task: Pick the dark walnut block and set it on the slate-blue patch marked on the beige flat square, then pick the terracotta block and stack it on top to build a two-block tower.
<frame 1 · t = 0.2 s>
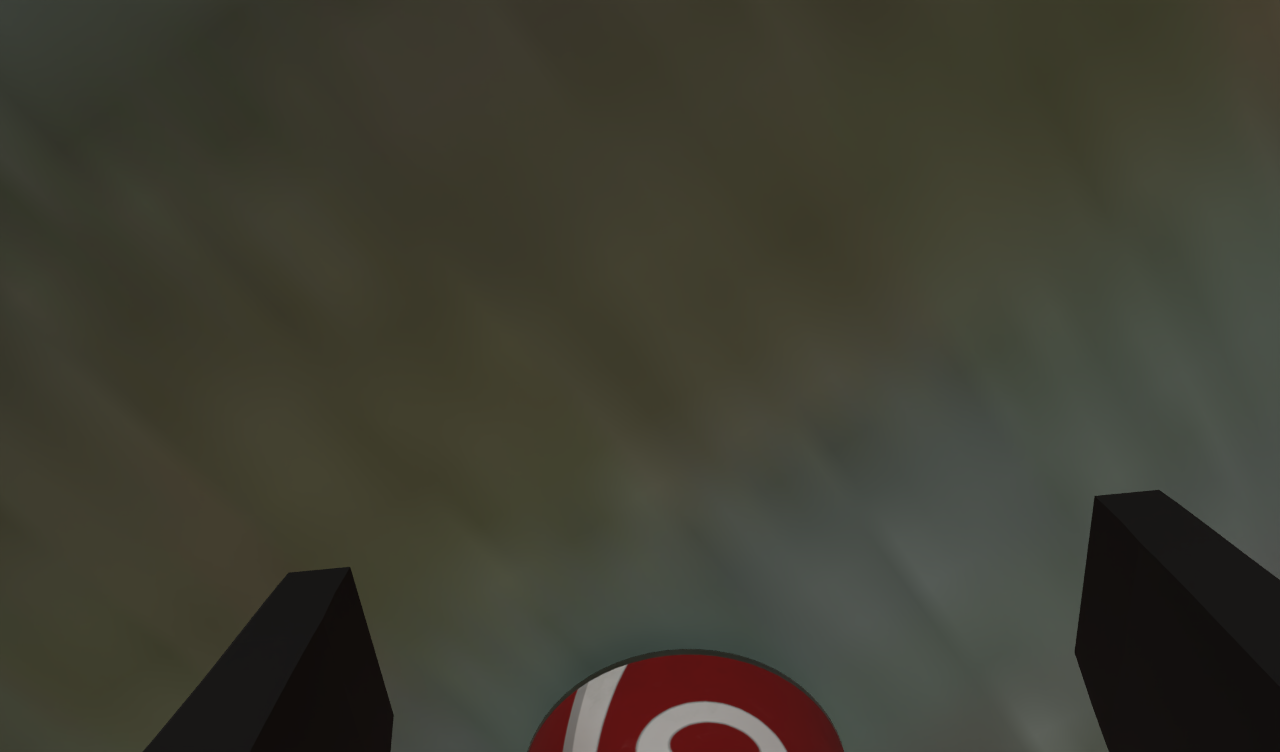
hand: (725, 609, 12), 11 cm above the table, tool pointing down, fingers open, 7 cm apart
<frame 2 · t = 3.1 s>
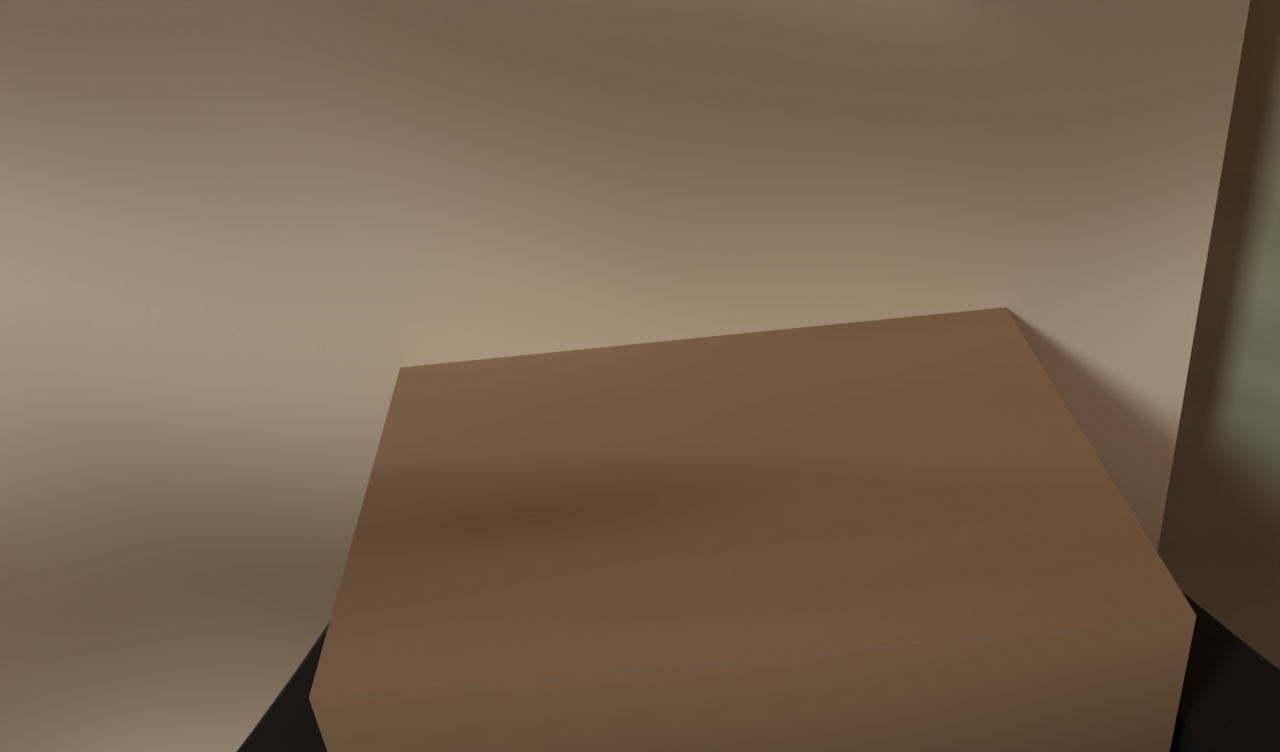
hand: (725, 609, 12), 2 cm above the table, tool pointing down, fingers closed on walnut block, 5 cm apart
walnut block: (719, 569, 12), point 1 cm above the table, touching beige flat square, gripper
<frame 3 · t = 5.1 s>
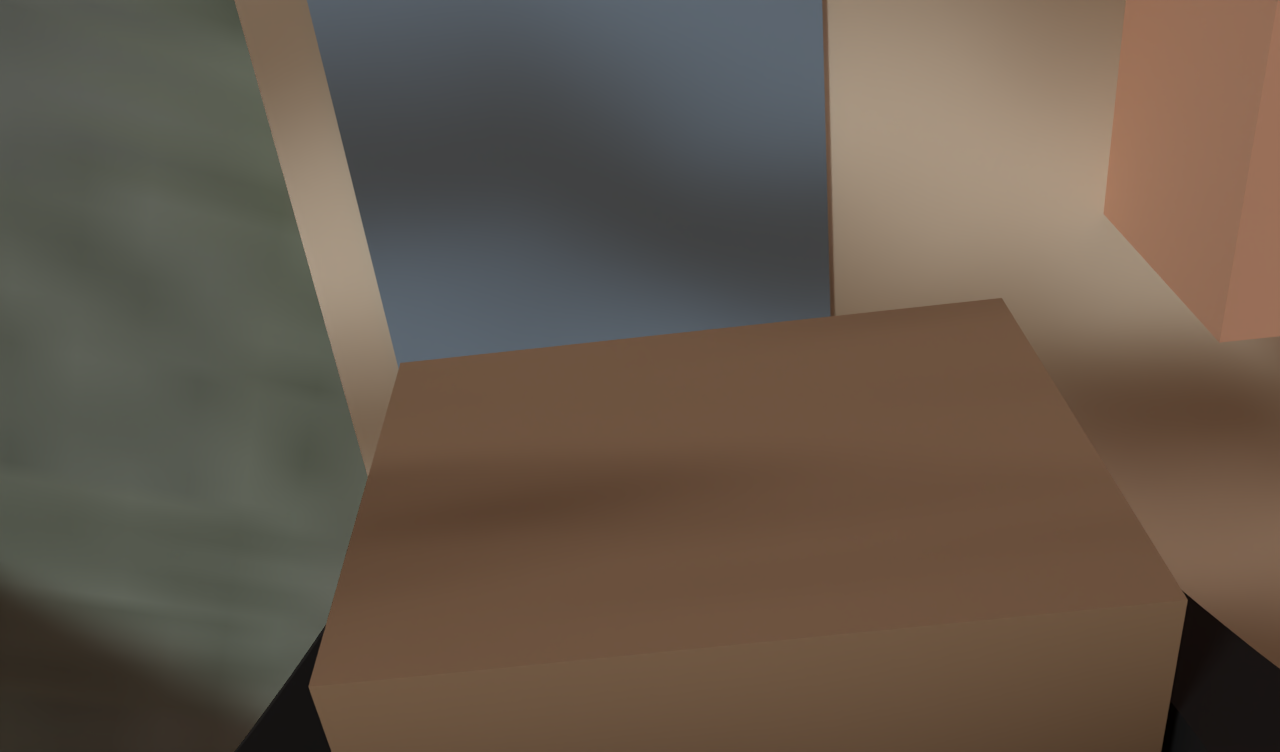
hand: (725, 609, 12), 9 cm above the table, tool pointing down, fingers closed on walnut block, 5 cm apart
terracotta block: (1276, 52, 17), point 1 cm above the table, touching beige flat square
beige flat square: (879, 356, 21), on the table
walnut block: (720, 562, 12), point 8 cm above the table, touching gripper
when the fingers open (3 cm above the table, at t = 7.0 s): walnut block drops 1 cm, resting on beige flat square.
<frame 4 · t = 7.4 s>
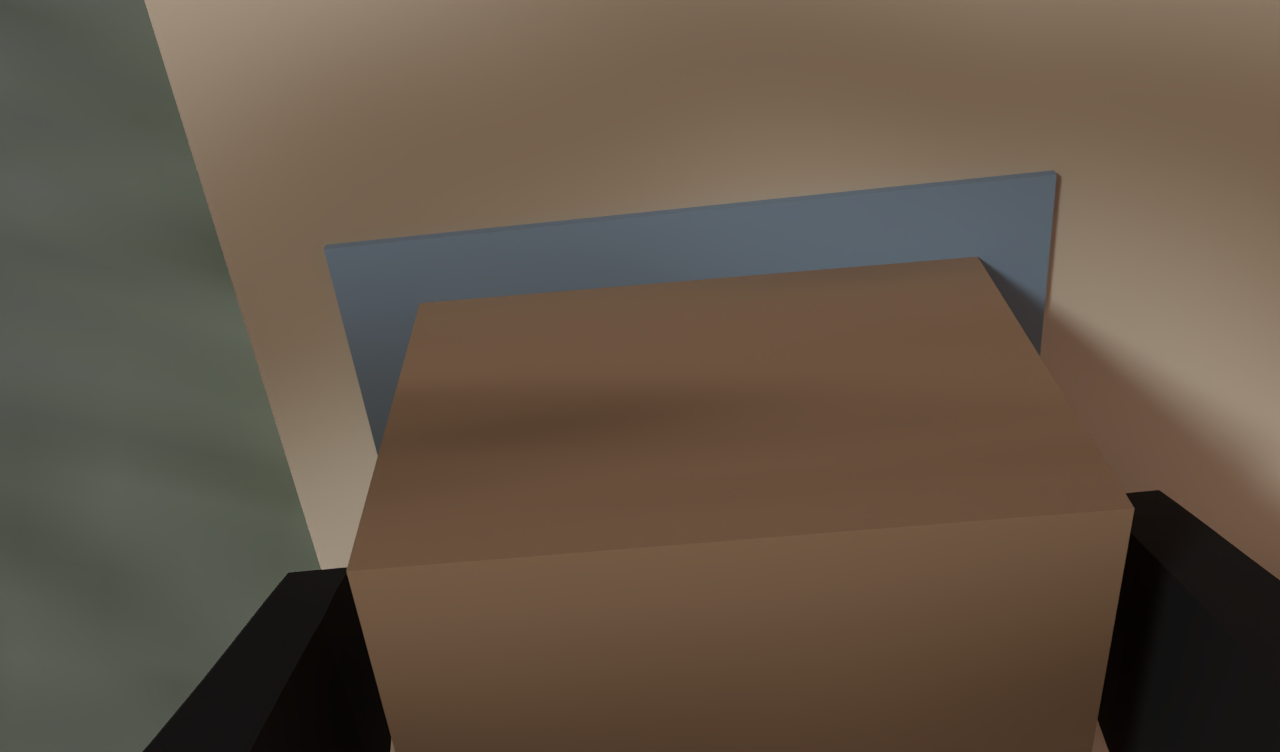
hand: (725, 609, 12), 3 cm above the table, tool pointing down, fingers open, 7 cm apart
beige flat square: (1056, 656, 16), on the table
walnut block: (710, 502, 13), point 1 cm above the table, touching beige flat square
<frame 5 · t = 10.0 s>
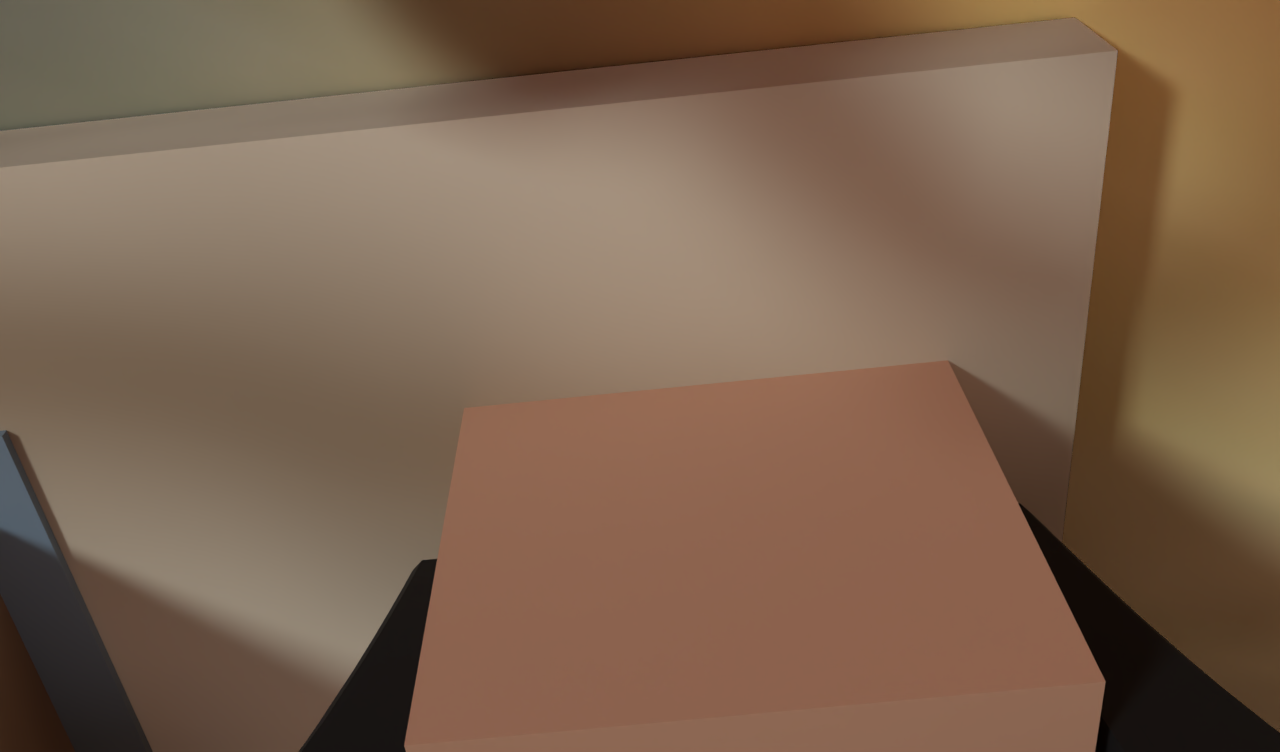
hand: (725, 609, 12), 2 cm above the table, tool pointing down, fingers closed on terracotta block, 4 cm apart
terracotta block: (719, 569, 12), point 1 cm above the table, touching beige flat square, gripper
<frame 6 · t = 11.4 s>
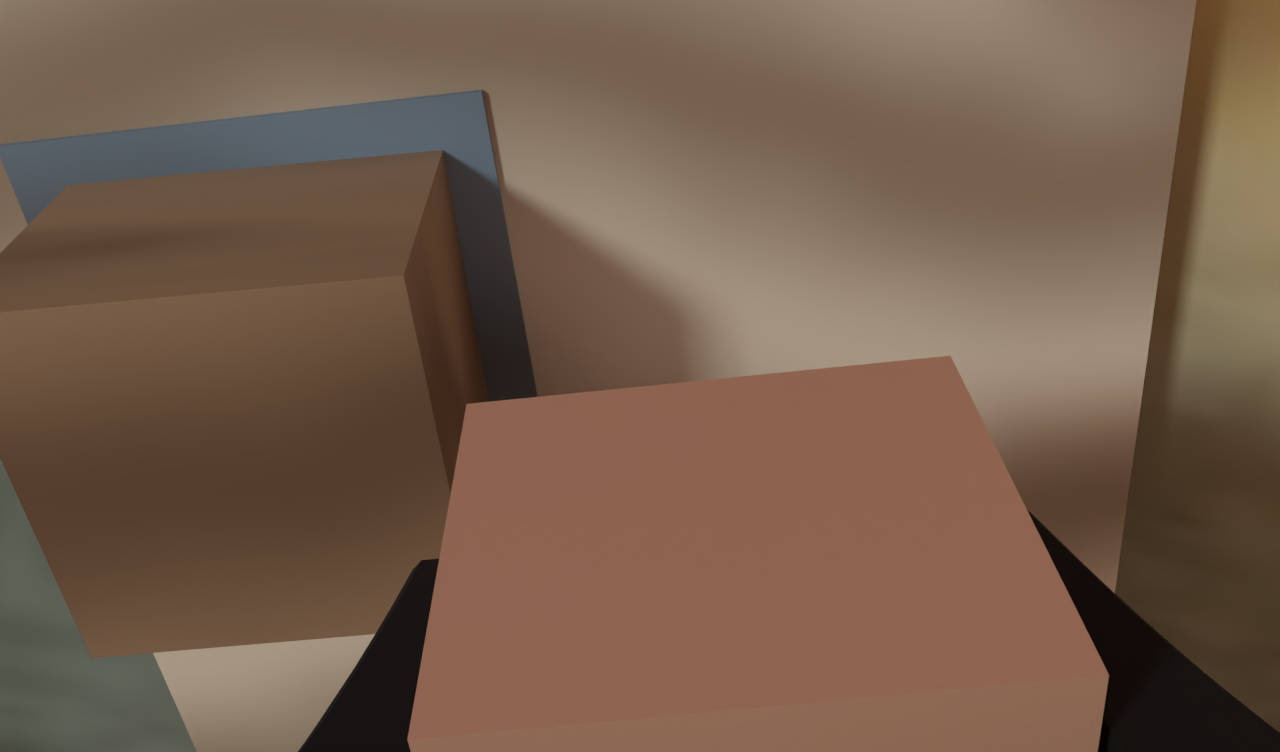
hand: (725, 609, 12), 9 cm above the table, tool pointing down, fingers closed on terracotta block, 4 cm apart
terracotta block: (722, 565, 12), point 8 cm above the table, touching gripper
beige flat square: (614, 467, 22), on the table
walnut block: (299, 331, 19), point 1 cm above the table, touching beige flat square
when the fingers open (7 cm above the table, at t = 12.7 s): terracotta block stays where it is, resting on walnut block.
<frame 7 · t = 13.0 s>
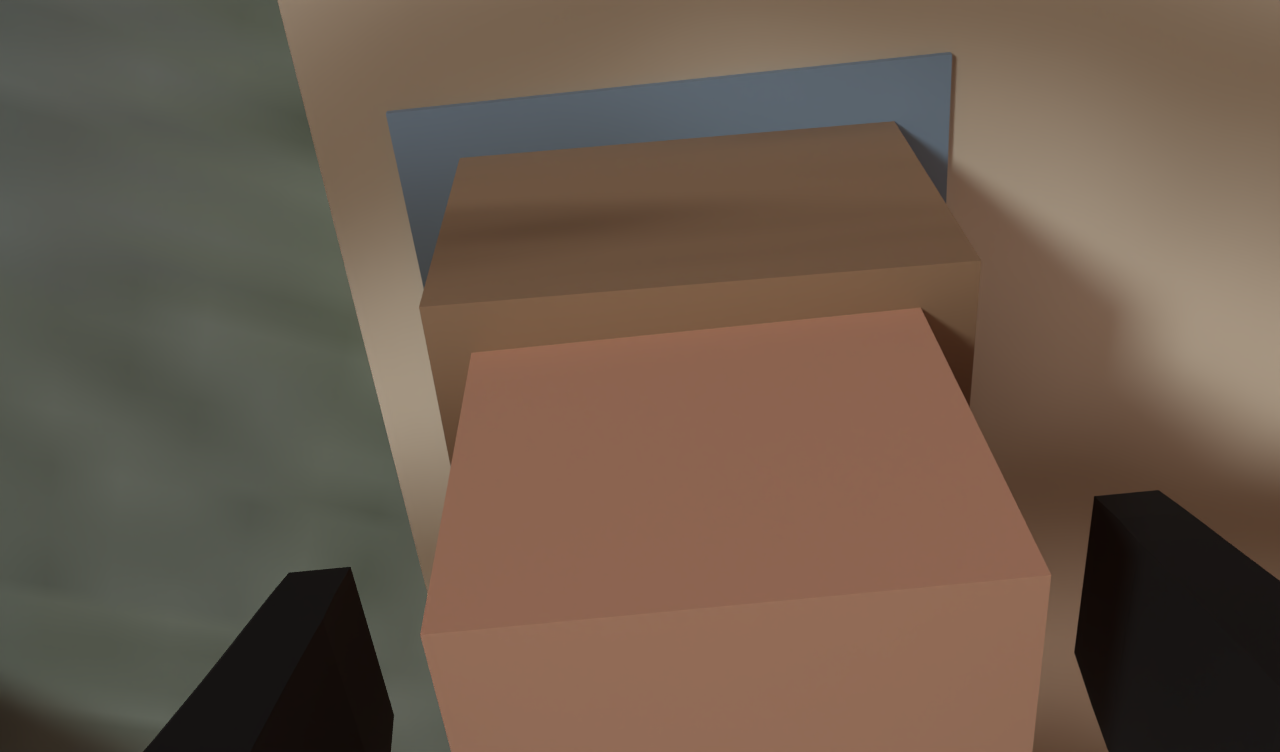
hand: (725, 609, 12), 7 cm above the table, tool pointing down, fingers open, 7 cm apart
terracotta block: (710, 508, 13), point 5 cm above the table, touching walnut block
beige flat square: (978, 483, 19), on the table
walnut block: (688, 329, 16), point 1 cm above the table, touching beige flat square, terracotta block
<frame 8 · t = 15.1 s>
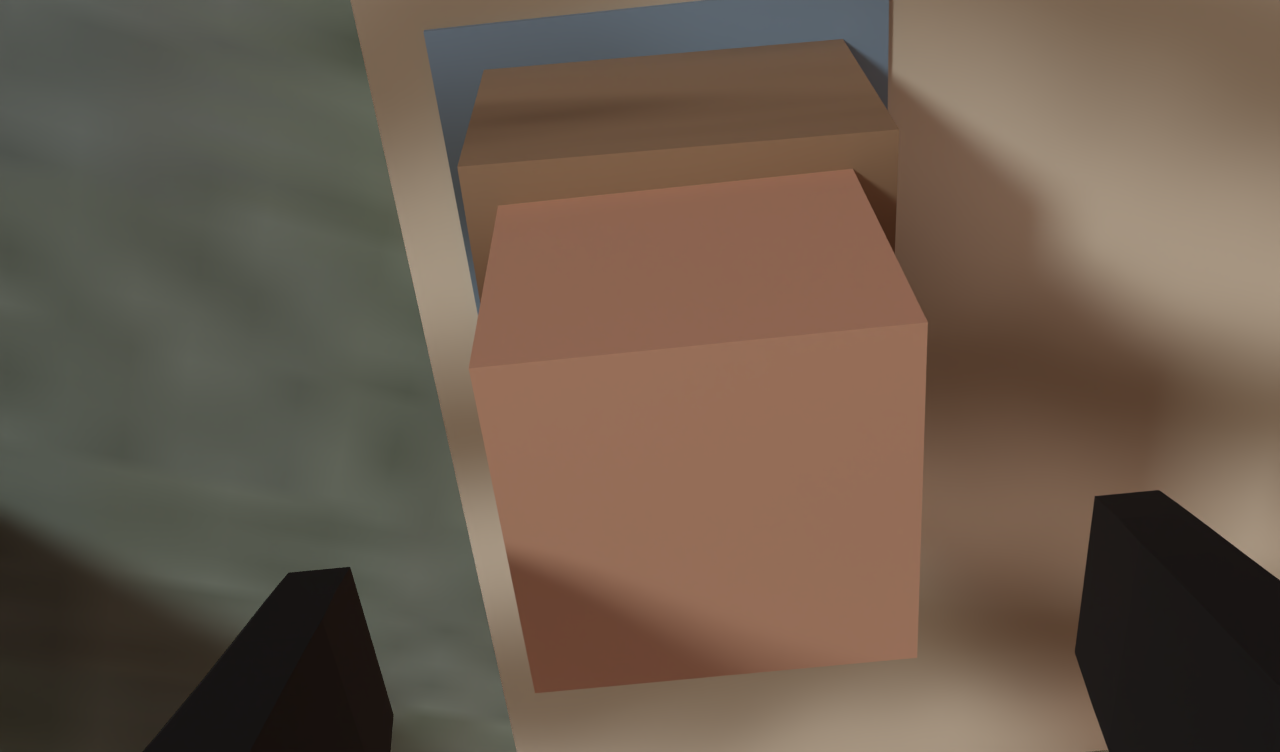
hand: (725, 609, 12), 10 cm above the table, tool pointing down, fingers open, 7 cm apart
terracotta block: (688, 340, 16), point 5 cm above the table, touching walnut block
beige flat square: (925, 366, 23), on the table
walnut block: (674, 219, 20), point 1 cm above the table, touching beige flat square, terracotta block
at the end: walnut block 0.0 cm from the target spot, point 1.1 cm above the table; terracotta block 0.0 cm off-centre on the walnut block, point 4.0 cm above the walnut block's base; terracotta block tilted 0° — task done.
